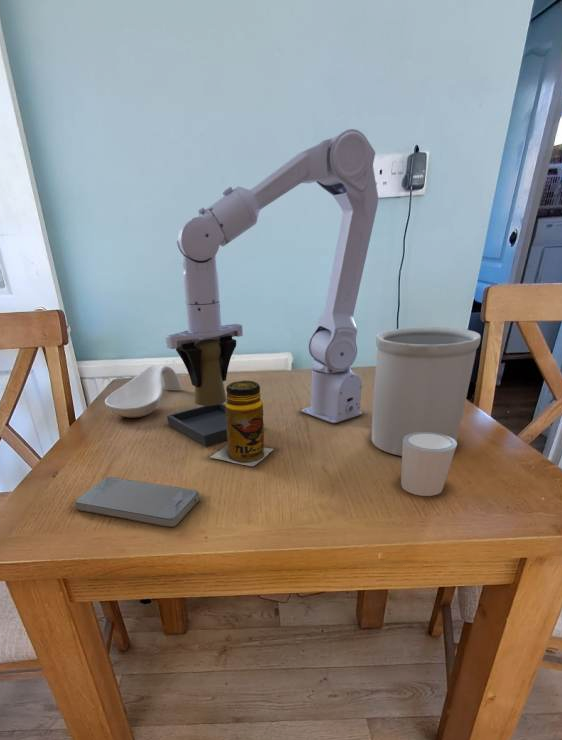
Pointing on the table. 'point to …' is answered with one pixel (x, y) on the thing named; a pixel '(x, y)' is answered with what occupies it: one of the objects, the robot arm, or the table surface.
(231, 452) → the condiment
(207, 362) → the pepper mill
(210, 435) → the slate tray
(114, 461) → the table surface
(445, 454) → the white cup
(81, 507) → the phone
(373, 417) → the utensil holder
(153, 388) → the spoon rest
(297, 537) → the table surface
